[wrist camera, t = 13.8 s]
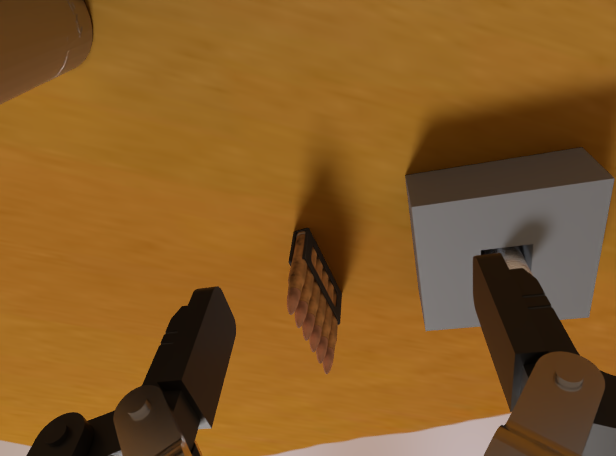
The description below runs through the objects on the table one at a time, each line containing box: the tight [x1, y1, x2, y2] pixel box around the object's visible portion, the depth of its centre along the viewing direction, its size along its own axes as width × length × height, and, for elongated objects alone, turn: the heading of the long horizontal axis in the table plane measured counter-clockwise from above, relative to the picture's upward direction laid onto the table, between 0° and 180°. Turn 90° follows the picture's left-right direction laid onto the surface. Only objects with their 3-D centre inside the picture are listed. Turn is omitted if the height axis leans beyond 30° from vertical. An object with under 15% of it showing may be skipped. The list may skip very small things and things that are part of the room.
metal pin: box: [484, 246, 533, 276], centre depth 41 cm, size 3×3×10 cm
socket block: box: [405, 147, 614, 331], centre depth 43 cm, size 16×16×6 cm
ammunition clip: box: [287, 228, 342, 374], centre depth 45 cm, size 11×2×12 cm, turn 23°
